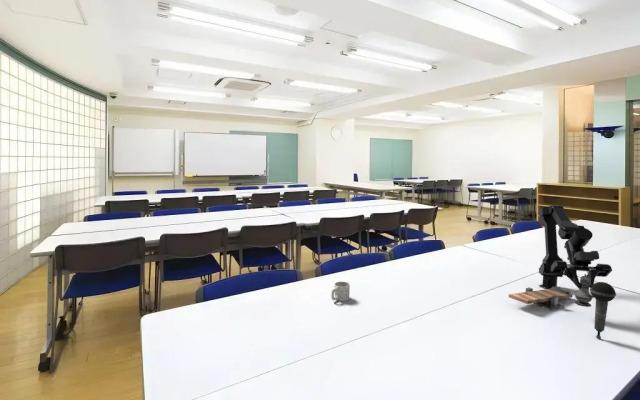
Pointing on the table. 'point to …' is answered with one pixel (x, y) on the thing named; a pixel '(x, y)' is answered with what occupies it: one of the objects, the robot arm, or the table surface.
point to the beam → (541, 295)
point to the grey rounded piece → (583, 292)
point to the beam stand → (548, 302)
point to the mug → (341, 291)
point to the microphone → (601, 303)
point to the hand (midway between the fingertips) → (585, 288)
